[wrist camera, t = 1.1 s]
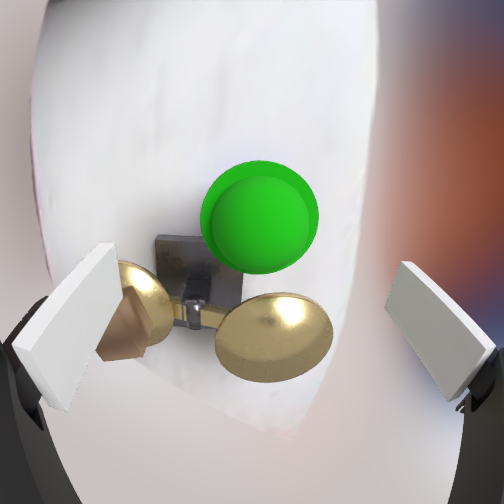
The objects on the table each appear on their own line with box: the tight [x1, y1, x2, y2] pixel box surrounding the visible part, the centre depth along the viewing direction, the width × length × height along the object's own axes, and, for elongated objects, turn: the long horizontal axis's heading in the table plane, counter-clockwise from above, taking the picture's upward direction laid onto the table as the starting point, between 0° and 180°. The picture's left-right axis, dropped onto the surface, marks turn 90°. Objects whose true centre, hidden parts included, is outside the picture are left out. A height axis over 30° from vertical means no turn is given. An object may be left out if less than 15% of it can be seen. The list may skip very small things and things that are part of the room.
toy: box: [200, 160, 319, 274], centre depth 22 cm, size 8×8×15 cm
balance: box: [118, 235, 333, 383], centre depth 28 cm, size 12×26×11 cm, turn 85°
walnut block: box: [95, 286, 154, 361], centre depth 24 cm, size 5×5×5 cm
